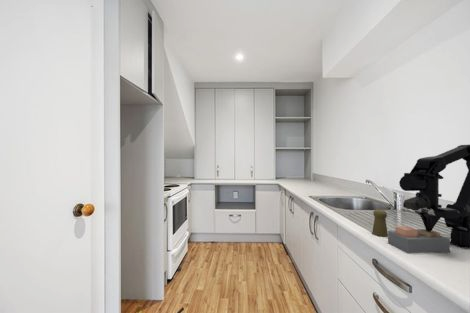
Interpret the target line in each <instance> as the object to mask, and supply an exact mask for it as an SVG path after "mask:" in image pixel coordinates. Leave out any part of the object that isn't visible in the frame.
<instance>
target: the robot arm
mask: <svg viewBox="0 0 470 313" xmlns="http://www.w3.org/2000/svg"><path fill="white" fill-rule="evenodd" d="M461 159H462V160H464V161H465V166H466V168H467V170H468V171H467V173H466V177H465V179H464V180H463V183H462V186H461V188H460V191H459V194H458V196H457V197H456V200H455V202H454V203H453V204H451V203H450V204H449V203H448V204H446V207H443V205H442V204H439V202H440V201H439V200H440V199H439V198H442V194H441V193H439V182H440V181H439V180H444V177H443V176H442V175H441V174H440V173H441V172H442V171H444V170H445V169H446V168H447V166H448V165H450V164H452V163H455V162H457V161H459V160H461ZM398 185H399V187H400V188H401V190H403V191H404V192H415V196H413V197H410V198H407V199H404V201H403V203H402V204H403V206H402V207H403V208H405V209H407V210H411V211H413V212H414V213H416V214H417V215H418V216H420V218H421V220H422V224H423V225H424V229H426V231H431V230H433V229H434V227H436V224H437V223H438V222H439V220H441V219H443V220H444V223H445V227H446V228H449V229H450V231H451V232H450V244H451V245H453V246H457V247H459V248H461V249H470V144H460V145H458V146H456V147H455V148H451V149H450V150H447V151H444V152H442V153H440V154H437V155H432V156H426V157H425V156H424V157H420V158H419V159H417V160H416V163H415V164H414V166H413V167H412V169H411V170H410V172H404V173H403V176H402V177H400V180H399V184H398Z"/></svg>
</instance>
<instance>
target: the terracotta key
mask: <svg viewBox="0 0 470 313" xmlns="http://www.w3.org/2000/svg"><path fill="white" fill-rule="evenodd" d="M417 229H418V228H417ZM417 229H416V228H413V227H411V226H408V225H396V226H395V231H396V234H398V235H400V236H403V237H417V231H418V230H417Z"/></svg>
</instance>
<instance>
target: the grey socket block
mask: <svg viewBox="0 0 470 313" xmlns="http://www.w3.org/2000/svg"><path fill="white" fill-rule="evenodd" d="M387 233H388V236H387V244H389V245H391V246H393V247H394V248H396V249H398V250H401V251H403V252H405V253H406V254H441V253H442V254H447V253H451V251H450V250H451V245H450V241H451V238H449V237H446V236H442V235H440V237H426V236H424V235H421V234H418V233H417V237H403V236H400V235H398V234H396V230H387Z"/></svg>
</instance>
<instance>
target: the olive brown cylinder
mask: <svg viewBox="0 0 470 313" xmlns="http://www.w3.org/2000/svg"><path fill="white" fill-rule="evenodd" d="M372 212H373V213H372V214H373V217H374V220H373V226H372V230H371V231H372V235H373V236H377V237H381V238H385V237H387V238H388V227H387V220H386V218H387V217H388V213H387V211H386V210H382V209H374V210H373V211H372Z"/></svg>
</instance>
